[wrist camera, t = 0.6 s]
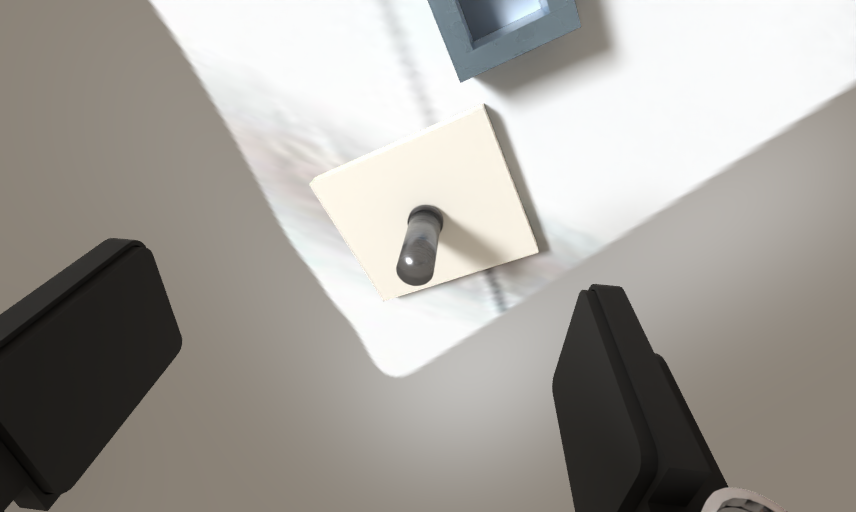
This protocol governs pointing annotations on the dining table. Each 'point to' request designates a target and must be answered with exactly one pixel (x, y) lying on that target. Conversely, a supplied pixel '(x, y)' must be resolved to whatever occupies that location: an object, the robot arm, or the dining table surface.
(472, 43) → the collar
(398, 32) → the dining table surface
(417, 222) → the steel post
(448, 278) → the base plate
